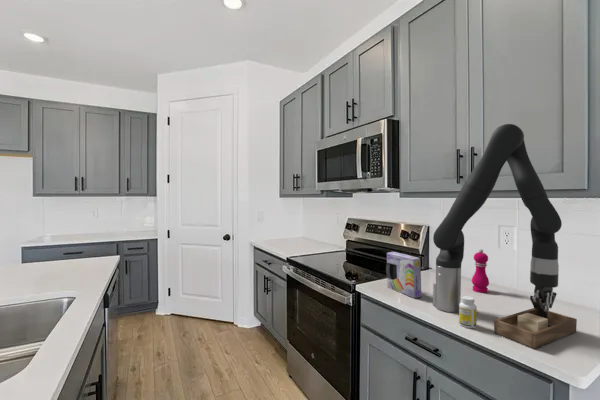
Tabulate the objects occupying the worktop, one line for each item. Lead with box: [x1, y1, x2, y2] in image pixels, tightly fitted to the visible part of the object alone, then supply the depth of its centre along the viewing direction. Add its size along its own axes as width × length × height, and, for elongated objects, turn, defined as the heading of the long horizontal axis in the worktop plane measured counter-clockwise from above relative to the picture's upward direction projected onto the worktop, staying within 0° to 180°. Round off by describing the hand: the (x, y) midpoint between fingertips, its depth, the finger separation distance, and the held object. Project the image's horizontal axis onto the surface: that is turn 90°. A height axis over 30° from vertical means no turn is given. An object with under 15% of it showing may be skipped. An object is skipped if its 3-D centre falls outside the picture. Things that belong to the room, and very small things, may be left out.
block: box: [518, 313, 548, 332], centre depth 103 cm, size 6×6×4 cm
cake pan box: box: [385, 251, 422, 299], centre depth 145 cm, size 19×5×18 cm, turn 23°
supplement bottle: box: [458, 295, 478, 329], centre depth 109 cm, size 5×5×10 cm
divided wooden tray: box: [493, 307, 578, 350], centre depth 104 cm, size 12×26×4 cm, turn 118°
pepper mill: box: [471, 248, 490, 294], centre depth 148 cm, size 7×7×20 cm
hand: (542, 321), depth 106 cm, fingers closed
